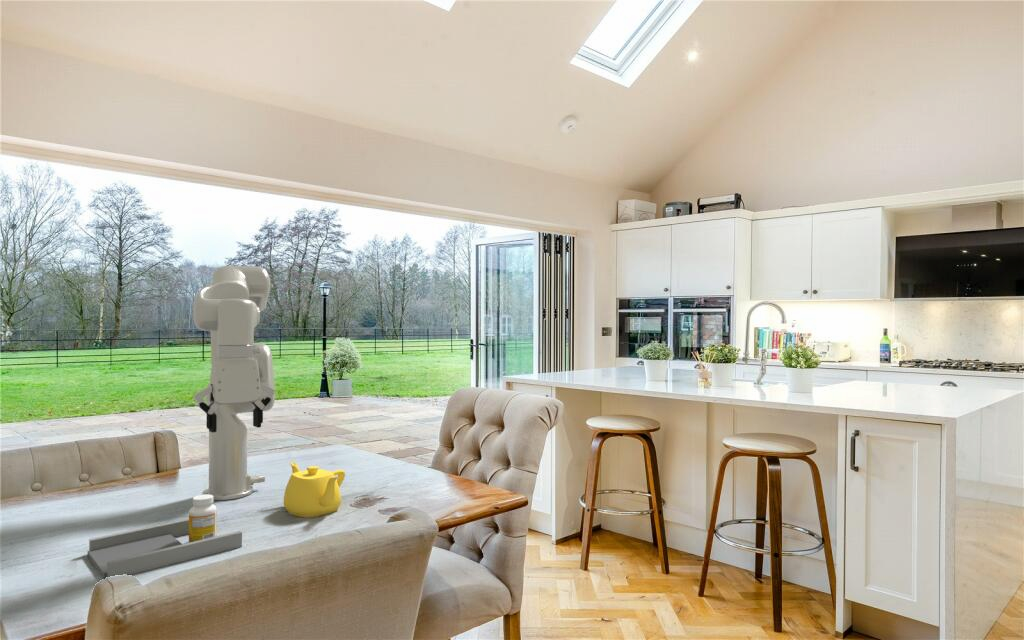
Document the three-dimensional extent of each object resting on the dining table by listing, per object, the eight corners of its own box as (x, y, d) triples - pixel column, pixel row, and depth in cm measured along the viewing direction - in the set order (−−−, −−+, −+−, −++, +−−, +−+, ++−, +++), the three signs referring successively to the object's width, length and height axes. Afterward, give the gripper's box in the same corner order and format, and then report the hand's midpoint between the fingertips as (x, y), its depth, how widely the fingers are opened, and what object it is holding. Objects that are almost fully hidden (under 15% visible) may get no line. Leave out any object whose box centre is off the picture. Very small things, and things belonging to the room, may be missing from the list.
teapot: (368, 510, 154) (368, 467, 154) (312, 525, 143) (312, 479, 143) (321, 493, 169) (322, 454, 169) (267, 506, 158) (267, 464, 158)
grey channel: (213, 526, 142) (213, 513, 142) (241, 546, 130) (242, 532, 130) (86, 554, 125) (86, 539, 125) (105, 580, 112) (105, 564, 112)
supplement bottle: (195, 537, 135) (195, 493, 135) (220, 537, 135) (220, 493, 135) (184, 546, 129) (184, 500, 129) (210, 546, 130) (210, 500, 130)
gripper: (267, 351, 147) (267, 423, 147) (189, 354, 135) (188, 431, 135) (280, 352, 142) (279, 426, 141) (199, 355, 130) (198, 435, 130)
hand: (235, 429), depth 138 cm, fingers open, 9 cm apart
